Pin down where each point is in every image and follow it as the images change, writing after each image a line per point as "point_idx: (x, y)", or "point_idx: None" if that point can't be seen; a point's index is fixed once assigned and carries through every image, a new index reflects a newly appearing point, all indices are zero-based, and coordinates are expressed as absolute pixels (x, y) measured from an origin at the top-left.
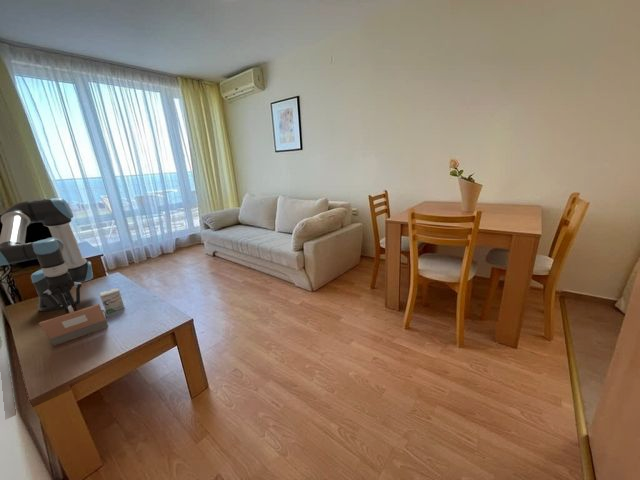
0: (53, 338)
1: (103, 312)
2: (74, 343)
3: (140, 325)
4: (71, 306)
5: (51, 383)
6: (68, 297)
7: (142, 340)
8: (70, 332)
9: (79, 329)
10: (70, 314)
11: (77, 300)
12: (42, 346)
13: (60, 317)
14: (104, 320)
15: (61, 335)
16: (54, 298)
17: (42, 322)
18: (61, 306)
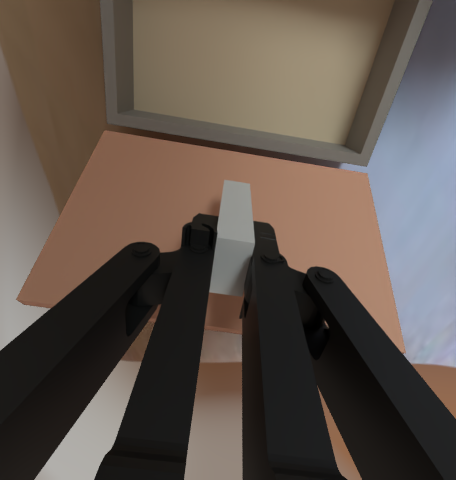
0: (120, 123)
1: (420, 18)
2: None
3: (416, 273)
4: (240, 272)
5: (137, 346)
6: (244, 430)
7: None
8: (196, 136)
9: (237, 143)
10: (211, 327)
11: (312, 354)
12: (76, 54)
13: (150, 320)
14: (357, 163)
15: (156, 129)
16: (44, 428)
17: (40, 306)
18: (156, 305)
